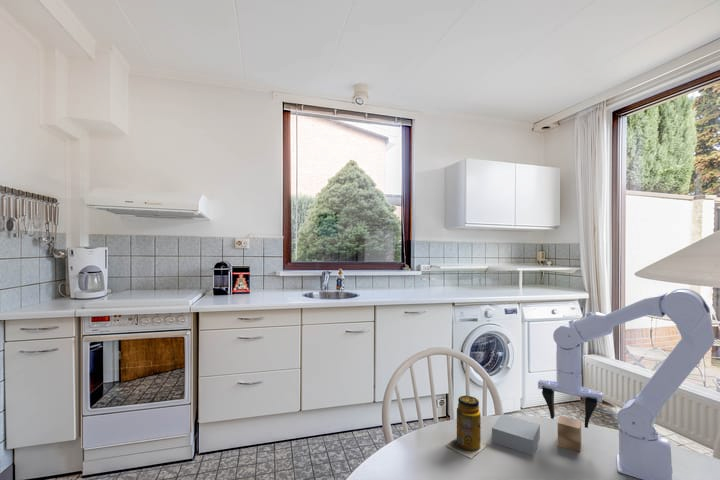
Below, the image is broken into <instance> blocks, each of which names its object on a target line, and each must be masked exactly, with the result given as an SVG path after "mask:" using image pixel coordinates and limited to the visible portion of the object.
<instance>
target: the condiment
mask: <svg viewBox="0 0 720 480" xmlns="http://www.w3.org/2000/svg"><path fill="white" fill-rule="evenodd" d="M457 400H458V402H457V408H456V438H454V439H453V440H451V441H450V442H448V443H447V444H445V446H446V447H448V448H449V449H451V450H453V451H454V452H456V453H459V454H461V455H463V456H465V457H468V458H470V459H472V458H474V457H475V455H477V454H478V453H479V452H481V451H482V450H483V449H485V448H486V446H487V445H488V444H486V443H484V442H481V441H482V440H481V436H482V434H481V428H482V426H481V423H482V422H481V420H482V419H481V411H480V401H479V399H477V398H476V397H475V396H470V395H461V396H459V397H458V399H457Z"/></svg>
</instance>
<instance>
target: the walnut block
mask: <svg viewBox="0 0 720 480" xmlns="http://www.w3.org/2000/svg"><path fill="white" fill-rule="evenodd" d="M557 446H558V447H562V448H564V449H568V450H570V451H571V450H572V451H574V452H578V453H581V450H582V420H579V419H575V418H571V417H567V416H563V415H559V416H558V420H557Z"/></svg>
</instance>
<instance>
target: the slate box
mask: <svg viewBox="0 0 720 480" xmlns="http://www.w3.org/2000/svg"><path fill="white" fill-rule="evenodd" d="M540 438H541V425H540V423H538V422H537V423H536V422H533V421H530V420H529V421H528V420H525V419H522V418H518V417H515V416H511V415H508V414H504V413H501V414H500V416H499V417H498V418H497V420H496V421H495V423H494V424H493V425H492V427H491V442H492V443H494V444H497V445H500V446H504V447H507V448H510V449H513V450H516V451H519V452H522V453H525V454H528V455H531V456H534V454H535V453H536V452H535V451H536V448H537V446H538V444H539V441H540Z"/></svg>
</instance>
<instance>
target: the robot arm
mask: <svg viewBox="0 0 720 480" xmlns="http://www.w3.org/2000/svg"><path fill="white" fill-rule="evenodd" d="M585 315H586V316H584V317H581V318H579V319H576V320H574V319H571V320H569V321H568V323H566V324H563V325H559V327H557V328H556V329H555V330H554V331H553V335H552V336H553V337H552V338H553V341H554V342H555V344H556V353H555V354H556V355H555V357H556V358H555V360H556V362H555V364H556V365H555V366H556V372H555V373H556V380H555V381H553V380H546V379H545V380H544V379H540V378H539V379H538V381H537V389H538V390H542V391H541V395H542V397H543V399H544V400H545V402H546V405H547V408H548V411H549V415H550V419H551V420H552V419H553V420H554V419H555V392H557V393H562V394H566V395H570V396H573V397H574V396H575V397H580V398H583V399H584V400H585V401H584V412H585V413H584V415H585V417H584V428H586V429H589V422H590V419H591V416H592V415H593V412H594V411H595V409H596V408H597V406H598V403H601V404H602V403H603V392H602V391H601V392H600V391H597V390H593V389H591V388H587V387H584V386H582V385H583V384H582V382H583V381H582V377H583V376H582V346H581V345H582V343H588V342H591V341H594V340H596V339H600V338H602V337H606V336H608V335H611V334H612V333H613V329H614V327H617V326H619V325H621V324H626V323H627V322H631V321H634V320H638V319H639V318H642V317H646V316H652V317H657V318H663V317H665V316H667V317H668V318H669V319H670V320H671V321H672V322H673V324H675V327H676V329H677V330H678V333H679V334H680V336H681V338H680V340H679V341H678V342H677V344H676V345H675V346H674V348H673V349H672V350H671V352H669V354H668V355H667V356H666V358H665V359H664V360H663V362H662V363H661V364H660V366H659V367H658V368H657V370H656V371H655V372H654V374H653V375H652V376H651V377H650V379H649V380H648V381H647V383H645V385H644V387H643V388H642V389H641V390H640V391H639V393H638V394H637V395H636V396H632V397H629V398H627V400H626V401H625V403H624V405H623V407H622V408H621V409H619V411H618V412H617V414H616V421H617V423H618V453H617V454H616V462H617V463H616V464H617V465H616V466H617V472H618V473H620V474H623V475H626V476H630V477H632V478H633V477H634V478H637V479H639V480H673V465H672V450H671V449H672V447H671V442H670V440H669V438H667V437H663V436H662V435H659V433H658V432H657V430H656V428H655V427H654V424H655V423H656V422H657V420H658V417H659V413H660V412H661V410H662V409H663V407H664V406H665V405H666V403H667V402H668V401H669V400H670V399H671V397H672V396H673V395H674V394H675V392H676V391H678V389H679V388H680V386H681V385H682V384H683V383H684V381H685V380H686V379H687V378H688V376H690V374H691V373H692V371H694V369H695V368H696V367H697V365H698V364H699V363H701V360H702V359H704V357H705V356H706V354H707V353H708V352H709V351H710V350H711V348H712V347H713V346H714V344H715V340H716V339H715V338H716V337H715V334H714V333H715V332H714V327H713V322H712V315H711V309H710V307H709V306H708V304H707V302H706V300H705V299H704V298H703V296H702V295H701V294H699V293H698V292H697V291H695V290H692V289H690V288H679V289H675V290H672V291H671V292H670V293H668V292H663V293H660V294H659V293H658V294H656V295H651V296H648V297H645V298H643V299H640V300H638V301H635V302H633V303H630V304H628V305H626V306H623V307H621V308H619V309H617V310H614V311H612V312H609V313H606V314H605V313H602V312H599V311H596V312H593V311H590V312H587V313H585Z"/></svg>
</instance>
